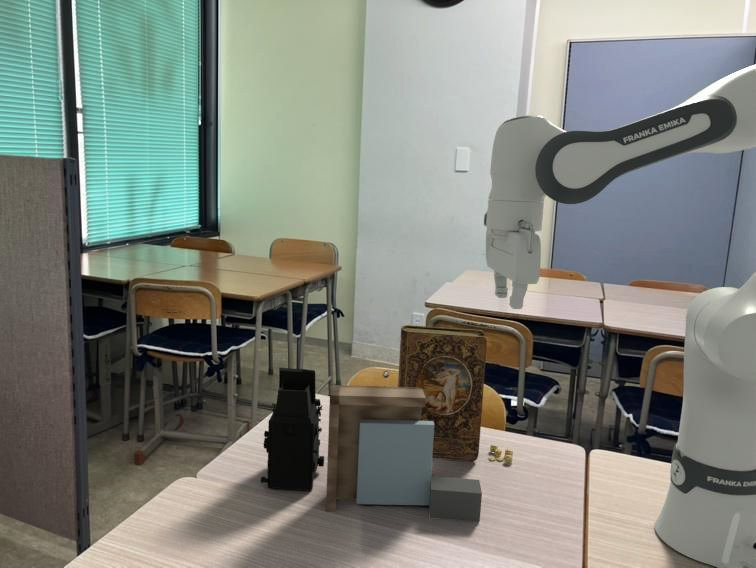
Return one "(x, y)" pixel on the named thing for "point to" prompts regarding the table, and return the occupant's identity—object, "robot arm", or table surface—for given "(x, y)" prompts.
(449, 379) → the book
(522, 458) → the table surface
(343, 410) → the open wooden box
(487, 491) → the table surface
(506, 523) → the table surface
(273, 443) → the camera
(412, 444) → the door panel
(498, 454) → the dice set
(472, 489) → the block
